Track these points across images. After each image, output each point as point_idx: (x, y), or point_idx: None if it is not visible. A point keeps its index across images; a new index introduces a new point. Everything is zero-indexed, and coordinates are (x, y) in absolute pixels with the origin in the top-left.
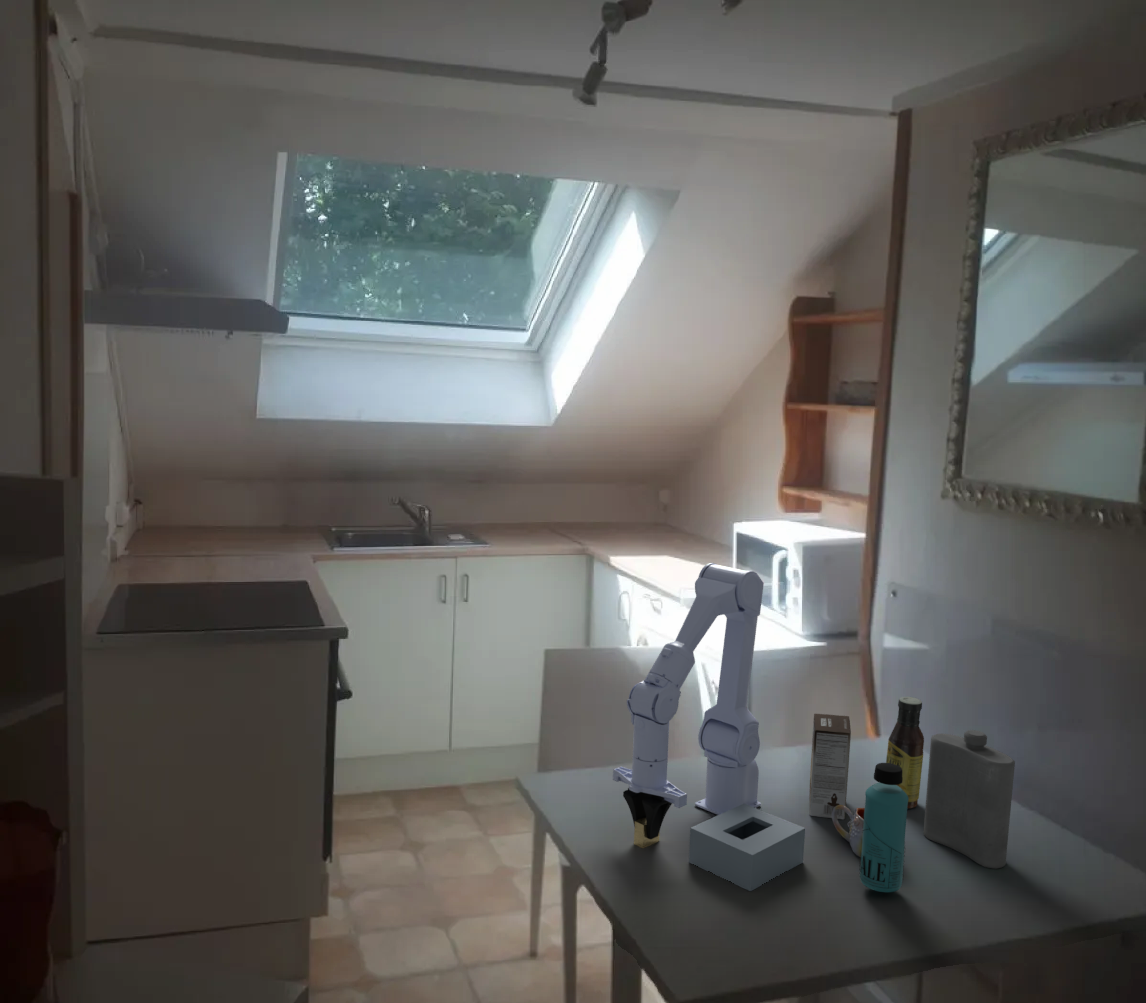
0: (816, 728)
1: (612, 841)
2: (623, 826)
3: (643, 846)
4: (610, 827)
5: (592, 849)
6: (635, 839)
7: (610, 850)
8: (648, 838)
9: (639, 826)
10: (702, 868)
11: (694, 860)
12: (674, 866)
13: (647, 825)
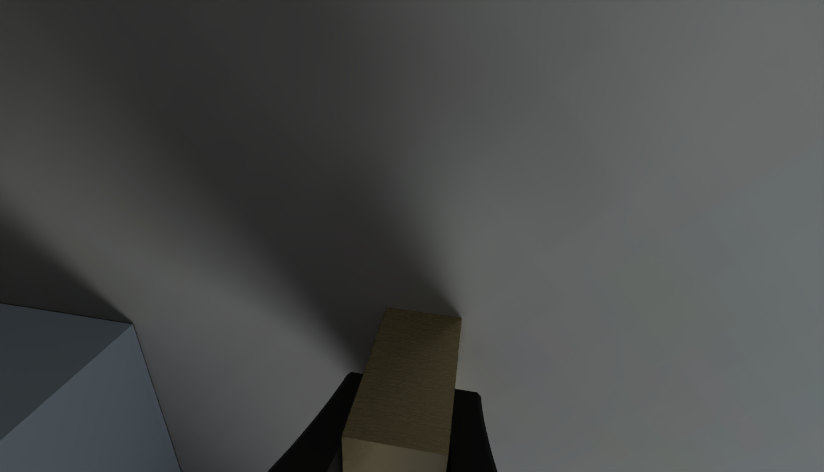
0: None
1: (599, 269)
2: (646, 443)
3: (384, 319)
4: (717, 401)
5: (671, 61)
6: (446, 340)
7: (531, 155)
8: (362, 375)
9: (395, 421)
10: (49, 312)
11: (78, 335)
12: (131, 251)
13: (325, 449)
